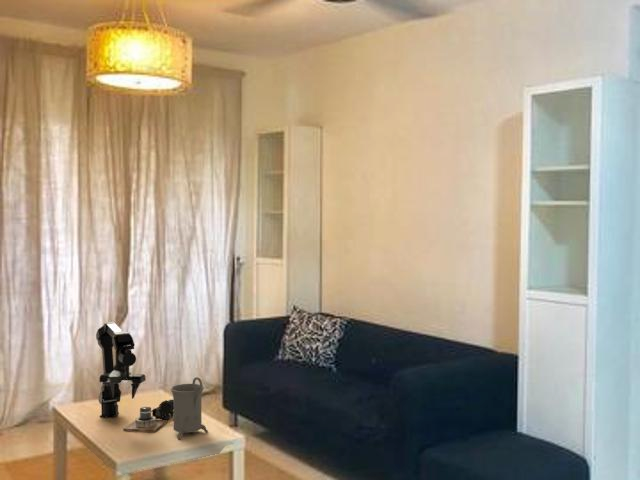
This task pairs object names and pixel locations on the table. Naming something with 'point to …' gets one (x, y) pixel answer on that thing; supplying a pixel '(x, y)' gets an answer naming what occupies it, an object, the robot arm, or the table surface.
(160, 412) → the night vision scope
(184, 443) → the table surface
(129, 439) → the table surface
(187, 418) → the grey footed pail
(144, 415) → the lens
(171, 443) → the table surface
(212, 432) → the table surface
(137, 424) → the mount plate
